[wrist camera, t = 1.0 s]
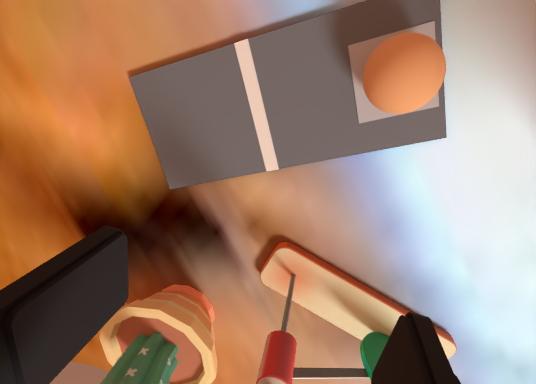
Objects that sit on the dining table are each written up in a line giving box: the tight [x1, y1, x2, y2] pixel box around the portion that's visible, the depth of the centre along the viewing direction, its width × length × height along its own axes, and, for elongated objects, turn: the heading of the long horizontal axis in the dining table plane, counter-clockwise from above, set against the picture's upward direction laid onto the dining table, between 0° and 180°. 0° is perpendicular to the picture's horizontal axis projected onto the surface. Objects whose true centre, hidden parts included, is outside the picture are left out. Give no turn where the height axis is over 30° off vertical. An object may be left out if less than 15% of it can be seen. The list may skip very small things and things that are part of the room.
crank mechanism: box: [256, 242, 457, 384], centre depth 27 cm, size 25×7×19 cm, turn 62°
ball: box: [363, 32, 446, 114], centre depth 23 cm, size 6×6×6 cm
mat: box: [129, 0, 446, 189], centre depth 29 cm, size 30×13×1 cm, turn 104°
